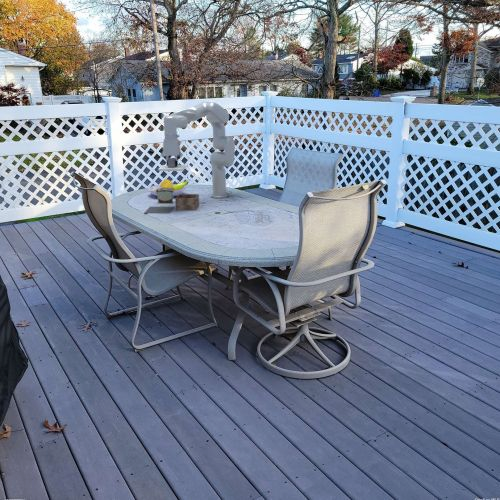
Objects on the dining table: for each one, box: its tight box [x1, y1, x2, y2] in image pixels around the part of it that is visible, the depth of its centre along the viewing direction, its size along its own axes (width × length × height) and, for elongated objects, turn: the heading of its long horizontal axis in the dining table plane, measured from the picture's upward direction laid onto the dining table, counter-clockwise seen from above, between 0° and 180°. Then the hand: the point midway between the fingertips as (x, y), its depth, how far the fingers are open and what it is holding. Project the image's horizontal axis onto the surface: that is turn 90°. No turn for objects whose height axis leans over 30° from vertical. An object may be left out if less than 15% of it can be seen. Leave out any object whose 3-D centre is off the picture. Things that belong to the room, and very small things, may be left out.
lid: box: [157, 157, 187, 172], centre depth 302 cm, size 15×15×6 cm
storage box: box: [174, 193, 200, 211], centre depth 313 cm, size 13×13×8 cm
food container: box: [156, 188, 174, 204], centre depth 327 cm, size 12×6×10 cm, turn 84°
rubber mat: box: [143, 206, 175, 215], centre depth 309 cm, size 16×16×1 cm
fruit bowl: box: [147, 178, 189, 198], centre depth 347 cm, size 28×27×11 cm
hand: (172, 166), depth 302 cm, fingers closed on lid, 4 cm apart
